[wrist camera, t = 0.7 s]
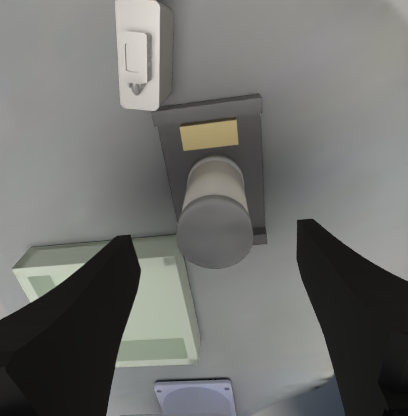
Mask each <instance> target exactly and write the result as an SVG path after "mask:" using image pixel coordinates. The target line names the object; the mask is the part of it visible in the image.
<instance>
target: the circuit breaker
mask: <svg viewBox="0 0 408 416" xmlns="http://www.w3.org/2000/svg"><path fill="white" fill-rule="evenodd" d="M115 11H116V30H117V49H118V69H119V88H120V104H121V105H122V106H123V107H124V108H128V109H139V110H149V111H156V110H157V109H158V108H159V107H160V106H161V105H162V103H163V102H164V101H165V100H166V99H167V97H168V96H169V95H170V94H171V93H172V70H173V36H174V12H173V11H172V10H171V9H170V8H168V7H167V6H165V5H163V4H162V3H160V2H158V1H156V0H116V1H115Z"/></svg>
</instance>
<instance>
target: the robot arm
mask: <svg viewBox="0 0 408 416" xmlns="http://www.w3.org/2000/svg"><path fill="white" fill-rule="evenodd" d="M297 263H298V267H299V271H300V274H301V278H302V281H303V284H304V286H305V289H306V291H307V294H308V296H309V299H310V301H311V304H312V306H313V309H314V311H315V313H316V316H317V318H318V321H319V323H320V326H321V329H322V332H323V334H324V337H325V341H326V344H327V348H328V351H329V355H330V358H331V362H332V365H333V369H334V373H335V376H336V380H337V384H338V387H339V391H340V395H341V399H342V403H343V407H344V411H345V415H346V416H408V281H406V280H404V279H402V278H400V277H398V276H396V275H394V274H392V273H390V272H388V271H386V270H384V269H382V268H381V267H379V266H377V265H375V264H374V263H372V262H370V261H369V260H367V259H365V258H364V257H362V256H361V255H359V254H358V253H356V252H355V251H353V250H352V249H350V248H349V247H348V246H346V245H345V244H344V243H342V242H341V241H340V240H338V239H337V238H336V237H334V236H333V235H332V234H331V233H329V232H328V231H327V230H326V229H324V228H323V227H322V226H321V225H320V224H318V223H317V222H316V221H315V220H313V219H304V220H297ZM140 275H141V268H140V264H139V261H138V258H137V255H136V251H135V248H134V245H133V242H132V238H131V235H122V236H116V237H115V238H114V239H113V240H111V241H110V242H109V243H108V244H107V245H106V246H105V247H103V248H102V249H101V250H100V251H99V252H98V253H97V254H96V255H94V256H93V257H92V258H91V259H90V260H89V261H88V262H86V263H85V264H84V265H83V266H82V267H80V268H79V269H78V270H77V271H75V272H74V273H73V274H72V275H71V276H69V277H68V278H67V279H66V280H64V281H63V282H62V283H60V284H59V285H57V286H56V287H55V288H53V289H52V290H50V291H49V292H47V293H46V294H44V295H43V296H41V297H40V298H38V299H36V300H35V301H33V302H31V303H30V304H28V305H26V306H25V307H23V308H21V309H20V310H18V311H16V312H14V313H12V314H10V315H8V316H7V317H5V318H3V319H1V320H0V416H106V413H107V407H108V401H109V395H110V390H111V385H112V380H113V375H114V370H115V365H116V360H117V356H118V351H119V347H120V343H121V340H122V336H123V333H124V330H125V327H126V324H127V321H128V318H129V316H130V313H131V310H132V307H133V304H134V301H135V297H136V294H137V291H138V286H139V281H140ZM154 390H155V393H156V396H157V398H158V401H159V404H160V406H161V409H162V414H146V415H122V416H236V411H235V404H234V398H233V391H232V384H231V381H229V380H200V381H173V382H156V383H155V384H154Z"/></svg>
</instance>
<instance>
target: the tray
mask: <svg viewBox="0 0 408 416" xmlns="http://www.w3.org/2000/svg"><path fill="white" fill-rule="evenodd" d="M110 241H111V240H109V241H97V242H86V243H74V244H63V245H51V246H40V247H31V248H30V249H29V250H28V251H27V252H26V253H25V254H24V256H23V257H22V258H21V259H20V260H19V261H18V262H17V263H16V265H15V266H14V267H13V268H12V271H13V273H14V274H15V276H16V278H17V279H18V281H19V283H20V285H21V286H22V288H23V290H24V291H25V293H26V295H27V297H28V298H29V300H30V302H33V301H35V300H36V299H38V298H40V297H41V296H43V295H44V294H46V293H47V292H49V291H50V290H52V289H53V288H55V287H56V286H57V285H59V284H60V283H62V282H63V281H64V280H66V279H67V278H68V277H69V276H71V275H72V274H73V273H74V272H75V271H77V270H78V269H79V268H80V267H82V266H83V265H84V264H85V263H86V262H88V261H89V260H90V259H91V258H92V257H93V256H94V255H96V254H97V253H98V252H99V251H100V250H101V249H102V248H103V247H105V246H106V245H107V244H108V243H109V242H110ZM132 242H133V245H134V248H135V251H136V255H137V258H138V261H139V264H140V268H141V275H140V281H139V286H138V291H137V294H136V297H135V301H134V304H133V307H132V310H131V313H130V316H129V318H128V321H127V324H126V327H125V330H124V333H123V336H122V340H121V343H120V347H119V351H118V356H117V360H116V365H115V367H136V366H160V365H184V364H199V358H200V341H201V337H200V333H199V328H198V323H197V318H196V314H195V309H194V304H193V300H192V295H191V290H190V285H189V281H188V276H187V271H186V266H185V262H184V257H183V254H182V253H181V252H180V250H179V248H178V246H177V242H176V235H166V236H154V237H143V238H132Z"/></svg>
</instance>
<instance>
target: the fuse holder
mask: <svg viewBox="0 0 408 416" xmlns="http://www.w3.org/2000/svg"><path fill="white" fill-rule="evenodd" d="M151 113H152V118H153V122H154V127H155V126H158V130H159V135H160V140H161V145H162V150H163V154H164V159H165V164H166V169H167V173H168V178H169V183H170V188H171V193H172V197H173V202H174V207H175V212H176V217H177V221H178V222H179V218H180V215H181V213H182V208H183V203H184V199H185V194H186V189H187V181H188V176H189V172H190V169H191V167H192V166H193V164H194V163H195V162H196V161H197V160H198V159H200V158H201V157H203V156H205V155H209V154H223V155H226V156H228V157H230V158H232V159H233V160H235V161H236V162H237V164H238V165H239V166H240V168H241V170H242V173H243V179H244V190H245V196H246V202H247V208H248V214H249V216H250V219H251V225H252V230H253V244H252V245H259V244H267V233H266V229H265V212H264V187H263V163H262V138H261V114H260V113H262V98H261V96H260V95H259V94H255V95H247V96H239V97H232V98H224V99H217V100H209V101H202V102H194V103H187V104H179V105H172V106H164V107H159V108H158V109H157V110H156V111H152V112H151Z"/></svg>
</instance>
